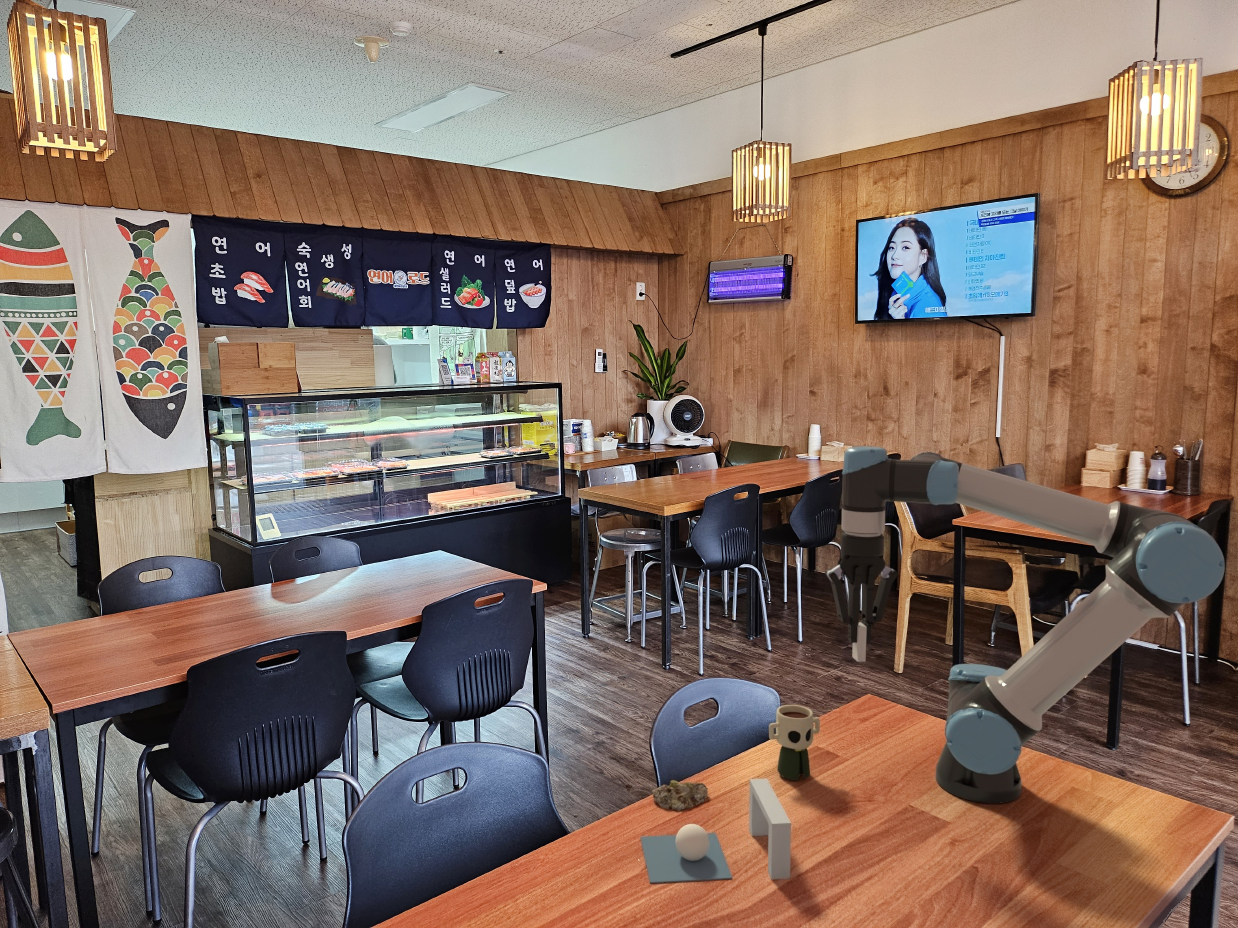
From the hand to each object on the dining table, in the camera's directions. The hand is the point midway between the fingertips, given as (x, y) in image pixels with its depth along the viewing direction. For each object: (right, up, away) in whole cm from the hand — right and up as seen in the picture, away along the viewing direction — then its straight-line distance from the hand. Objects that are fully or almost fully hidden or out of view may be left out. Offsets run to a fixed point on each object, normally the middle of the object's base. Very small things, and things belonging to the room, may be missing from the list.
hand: (858, 658), depth 156 cm
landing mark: (-33, -29, -17) cm, 47 cm away
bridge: (-19, -28, -16) cm, 38 cm away
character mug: (-10, -26, +11) cm, 29 cm away
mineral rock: (-33, -27, +2) cm, 42 cm away
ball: (-32, -26, -17) cm, 45 cm away
